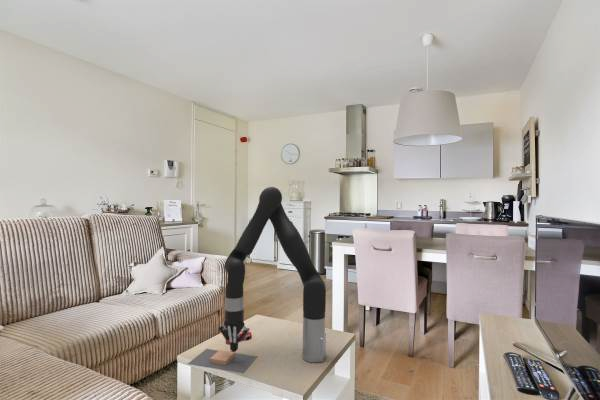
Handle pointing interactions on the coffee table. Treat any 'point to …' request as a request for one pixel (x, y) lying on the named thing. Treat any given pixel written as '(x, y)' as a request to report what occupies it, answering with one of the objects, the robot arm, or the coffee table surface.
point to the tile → (222, 357)
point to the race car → (247, 337)
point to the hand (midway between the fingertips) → (234, 350)
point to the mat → (236, 365)
